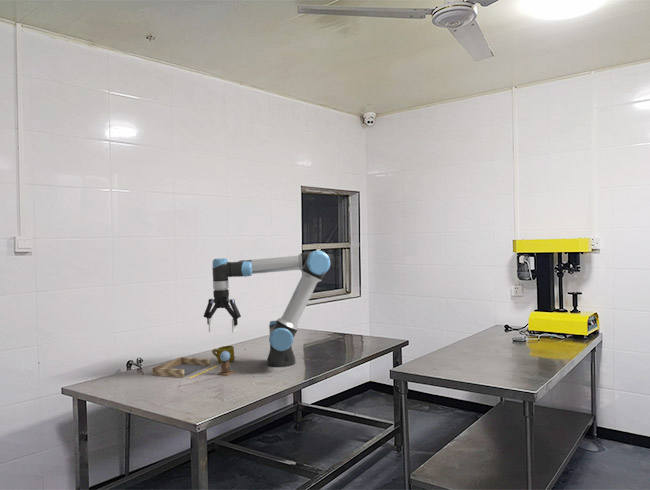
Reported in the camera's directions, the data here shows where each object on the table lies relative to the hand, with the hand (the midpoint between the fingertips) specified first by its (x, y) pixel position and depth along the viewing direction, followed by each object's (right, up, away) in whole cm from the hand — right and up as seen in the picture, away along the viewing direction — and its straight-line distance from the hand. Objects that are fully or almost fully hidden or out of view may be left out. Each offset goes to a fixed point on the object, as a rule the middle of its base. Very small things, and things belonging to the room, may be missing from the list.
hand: (222, 331), depth 246 cm
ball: (+1, -12, -1) cm, 12 cm away
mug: (-5, -21, +24) cm, 32 cm away
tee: (+2, -21, -1) cm, 21 cm away
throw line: (-10, -21, +4) cm, 24 cm away
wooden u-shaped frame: (-22, -21, +8) cm, 32 cm away
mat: (-22, -21, +8) cm, 32 cm away
